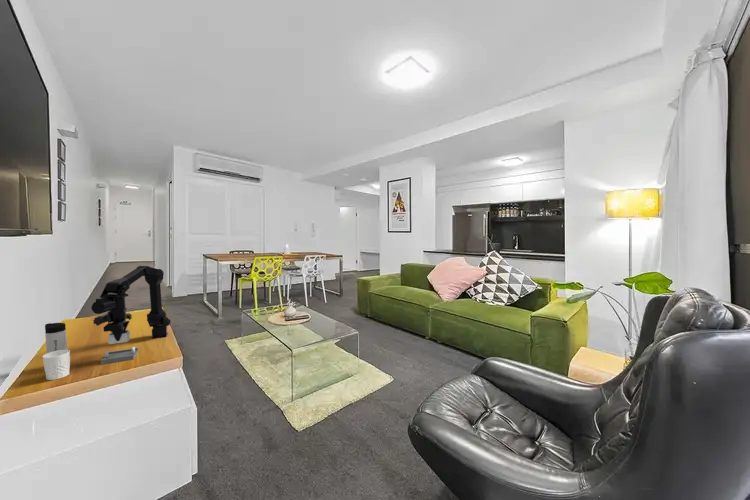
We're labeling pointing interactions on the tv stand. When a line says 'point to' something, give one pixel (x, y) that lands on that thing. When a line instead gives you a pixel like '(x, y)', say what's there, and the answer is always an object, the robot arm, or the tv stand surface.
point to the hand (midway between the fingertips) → (119, 339)
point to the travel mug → (55, 337)
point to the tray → (119, 355)
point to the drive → (124, 338)
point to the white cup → (57, 364)
